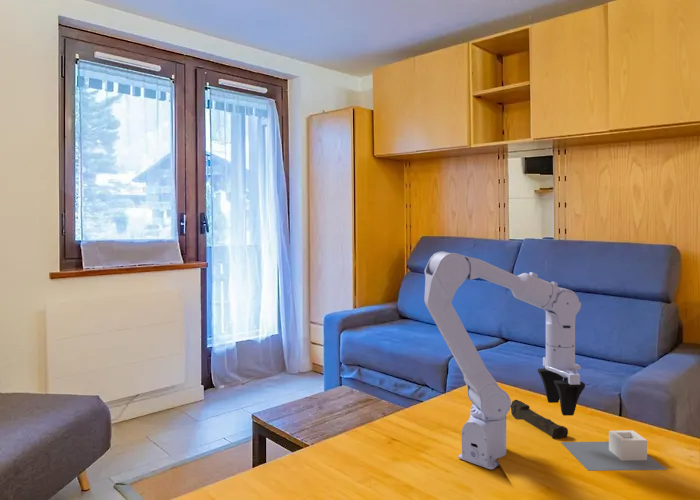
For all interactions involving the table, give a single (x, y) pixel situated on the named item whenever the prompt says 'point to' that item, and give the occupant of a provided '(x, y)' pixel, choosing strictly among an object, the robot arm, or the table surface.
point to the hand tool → (537, 420)
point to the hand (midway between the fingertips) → (560, 408)
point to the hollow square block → (628, 445)
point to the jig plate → (606, 458)
